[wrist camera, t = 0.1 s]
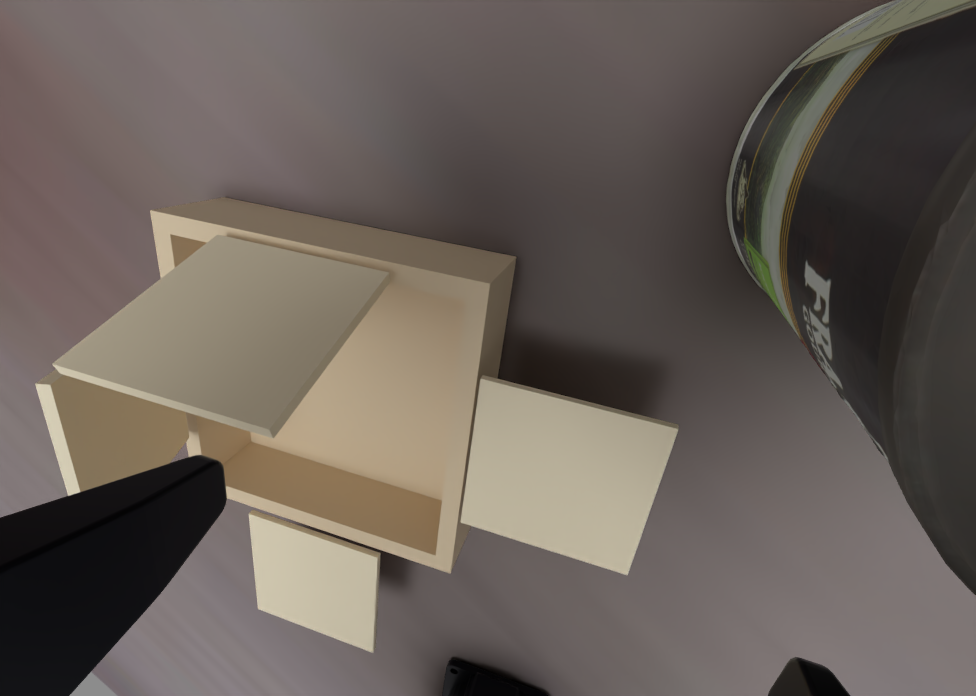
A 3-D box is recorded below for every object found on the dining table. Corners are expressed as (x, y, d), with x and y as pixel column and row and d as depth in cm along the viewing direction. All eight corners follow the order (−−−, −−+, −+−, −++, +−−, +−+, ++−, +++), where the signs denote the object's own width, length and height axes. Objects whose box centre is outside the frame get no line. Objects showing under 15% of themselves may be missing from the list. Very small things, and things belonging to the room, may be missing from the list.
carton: (583, 649, 29) (573, 729, 25) (255, 534, 33) (204, 588, 29) (699, 293, 19) (711, 334, 16) (224, 197, 24) (143, 211, 20)
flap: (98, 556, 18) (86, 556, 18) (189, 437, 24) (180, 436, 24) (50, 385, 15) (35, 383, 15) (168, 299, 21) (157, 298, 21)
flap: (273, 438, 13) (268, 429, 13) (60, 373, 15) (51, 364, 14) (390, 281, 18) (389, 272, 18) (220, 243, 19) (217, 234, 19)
